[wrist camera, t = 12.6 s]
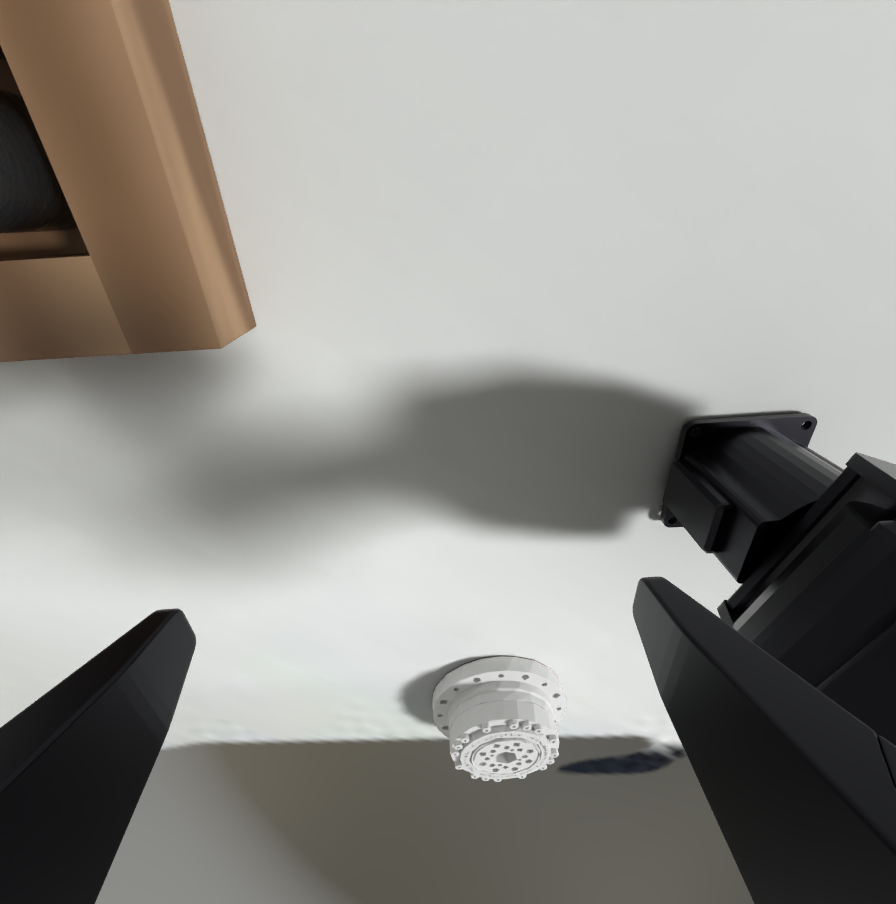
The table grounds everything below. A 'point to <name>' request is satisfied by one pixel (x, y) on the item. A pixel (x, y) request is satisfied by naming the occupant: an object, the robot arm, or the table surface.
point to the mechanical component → (500, 716)
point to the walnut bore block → (115, 190)
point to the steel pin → (27, 175)
